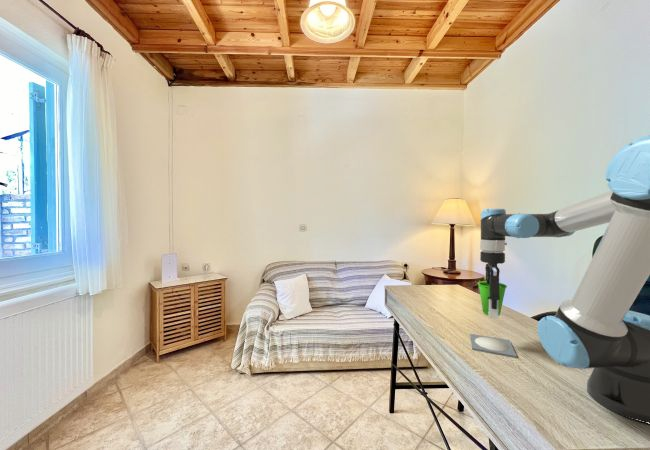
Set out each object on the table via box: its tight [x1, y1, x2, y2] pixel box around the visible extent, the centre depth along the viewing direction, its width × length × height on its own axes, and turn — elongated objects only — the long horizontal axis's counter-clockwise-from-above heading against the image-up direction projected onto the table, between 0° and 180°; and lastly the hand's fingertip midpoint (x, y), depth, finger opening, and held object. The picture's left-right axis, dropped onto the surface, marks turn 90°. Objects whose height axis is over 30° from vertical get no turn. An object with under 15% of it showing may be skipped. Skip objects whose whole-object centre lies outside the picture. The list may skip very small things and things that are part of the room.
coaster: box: [469, 333, 518, 359], centre depth 97 cm, size 13×13×1 cm
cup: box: [477, 280, 507, 317], centre depth 96 cm, size 9×9×11 cm
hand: (491, 312), depth 97 cm, fingers closed on cup, 9 cm apart
